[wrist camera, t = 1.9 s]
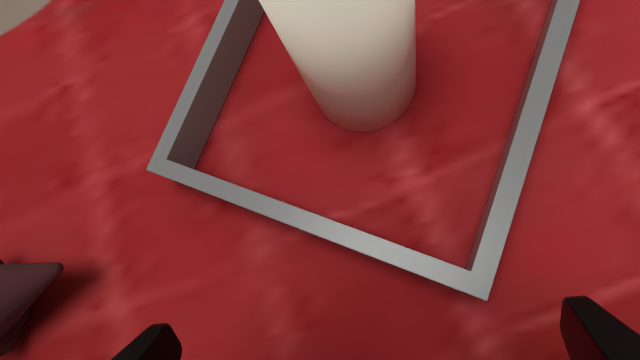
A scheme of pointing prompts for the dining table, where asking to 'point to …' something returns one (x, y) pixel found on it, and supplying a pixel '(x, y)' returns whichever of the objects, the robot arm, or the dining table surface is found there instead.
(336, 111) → the white pillar candle
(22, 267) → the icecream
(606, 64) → the dining table surface
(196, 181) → the frame
